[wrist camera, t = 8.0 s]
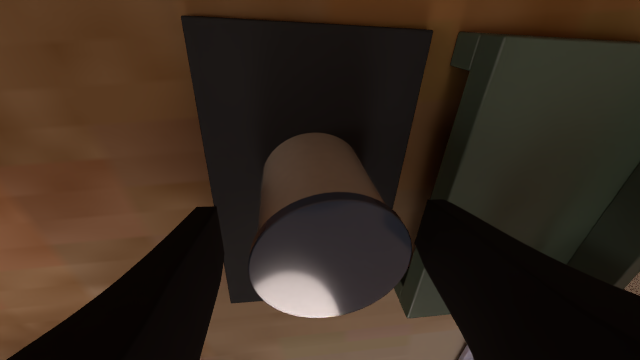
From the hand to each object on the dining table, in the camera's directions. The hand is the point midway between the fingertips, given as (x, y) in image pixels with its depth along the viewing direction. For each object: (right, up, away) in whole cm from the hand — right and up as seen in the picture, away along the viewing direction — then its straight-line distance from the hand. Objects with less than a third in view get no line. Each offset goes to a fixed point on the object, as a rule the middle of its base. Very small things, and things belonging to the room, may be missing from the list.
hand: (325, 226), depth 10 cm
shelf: (+9, +1, +5) cm, 10 cm away
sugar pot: (0, +2, +3) cm, 3 cm away
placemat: (-1, +1, +4) cm, 4 cm away
